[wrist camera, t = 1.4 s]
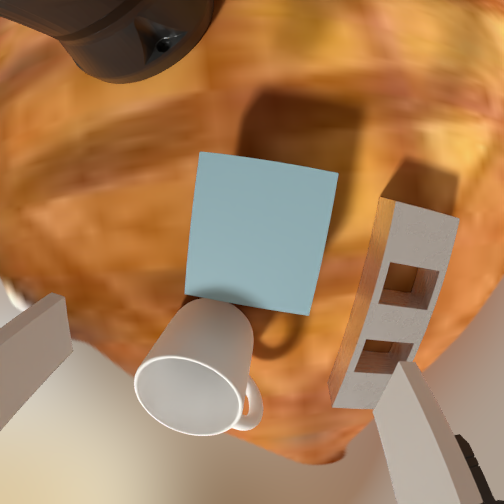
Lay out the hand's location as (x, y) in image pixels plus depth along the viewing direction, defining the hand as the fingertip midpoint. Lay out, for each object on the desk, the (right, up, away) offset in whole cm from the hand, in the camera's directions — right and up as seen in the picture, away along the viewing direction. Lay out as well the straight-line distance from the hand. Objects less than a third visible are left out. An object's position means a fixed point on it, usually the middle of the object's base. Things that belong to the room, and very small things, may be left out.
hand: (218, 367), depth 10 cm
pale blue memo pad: (+2, +7, +16) cm, 17 cm away
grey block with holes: (+14, -1, +17) cm, 22 cm away
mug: (-1, -5, +20) cm, 20 cm away
